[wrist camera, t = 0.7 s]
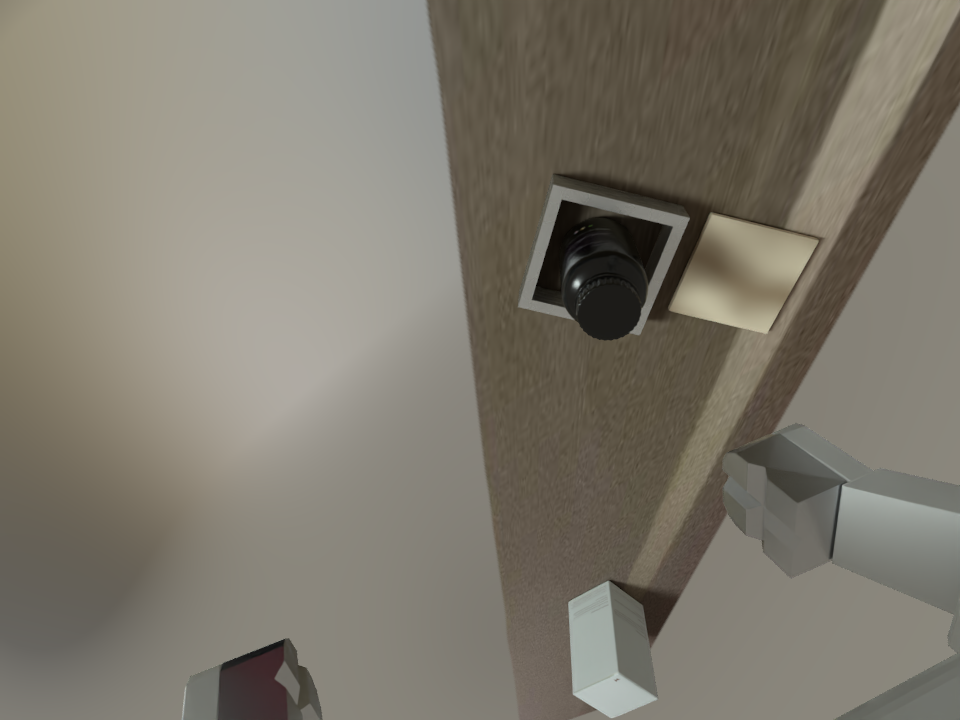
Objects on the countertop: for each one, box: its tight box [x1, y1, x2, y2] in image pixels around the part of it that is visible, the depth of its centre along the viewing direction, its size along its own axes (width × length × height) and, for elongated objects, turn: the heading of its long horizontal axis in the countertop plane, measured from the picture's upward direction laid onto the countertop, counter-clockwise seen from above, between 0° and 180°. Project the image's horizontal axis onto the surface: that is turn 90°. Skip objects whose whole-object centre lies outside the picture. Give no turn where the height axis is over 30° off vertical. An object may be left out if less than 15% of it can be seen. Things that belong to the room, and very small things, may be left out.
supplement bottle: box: [559, 218, 648, 340], centre depth 50 cm, size 7×7×12 cm
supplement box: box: [568, 581, 658, 718], centre depth 77 cm, size 7×7×13 cm
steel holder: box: [518, 174, 690, 335], centre depth 54 cm, size 12×12×3 cm
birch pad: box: [668, 212, 819, 334], centre depth 55 cm, size 10×10×1 cm
